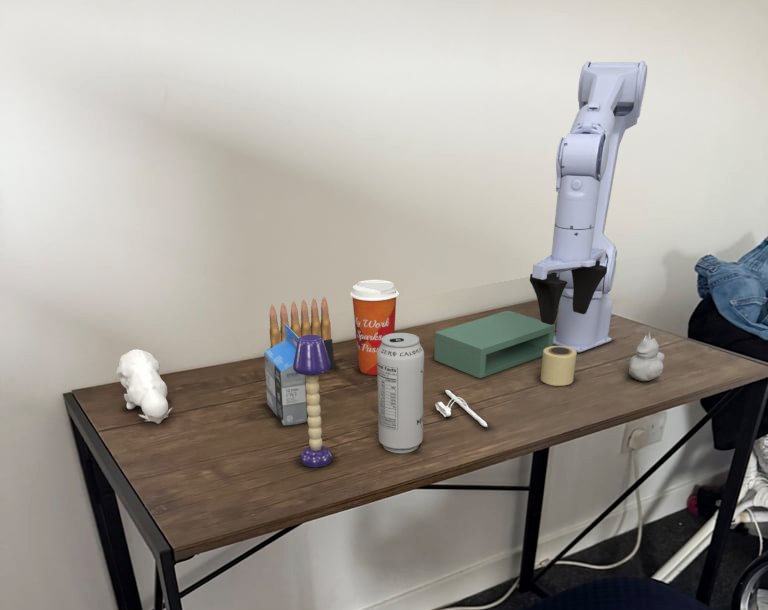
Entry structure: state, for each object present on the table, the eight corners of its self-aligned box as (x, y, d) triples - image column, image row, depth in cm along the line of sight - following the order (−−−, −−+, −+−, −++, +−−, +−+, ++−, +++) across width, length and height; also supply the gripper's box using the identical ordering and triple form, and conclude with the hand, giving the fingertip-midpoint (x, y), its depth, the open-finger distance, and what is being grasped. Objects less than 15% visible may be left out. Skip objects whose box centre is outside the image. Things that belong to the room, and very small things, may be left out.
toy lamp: (300, 451, 102) (290, 332, 93) (335, 450, 102) (328, 330, 94) (300, 469, 98) (290, 345, 89) (336, 467, 98) (329, 343, 89)
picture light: (489, 428, 107) (490, 414, 106) (461, 433, 106) (462, 419, 105) (447, 392, 118) (448, 379, 117) (422, 396, 117) (422, 383, 116)
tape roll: (554, 371, 125) (557, 342, 123) (579, 380, 122) (583, 351, 119) (533, 379, 122) (536, 350, 120) (558, 388, 119) (562, 358, 116)
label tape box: (266, 404, 116) (258, 325, 109) (292, 399, 117) (285, 321, 110) (283, 427, 109) (275, 344, 102) (310, 422, 110) (304, 340, 103)
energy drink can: (428, 451, 102) (430, 344, 94) (386, 458, 100) (384, 349, 92) (414, 432, 107) (415, 329, 99) (373, 438, 105) (371, 334, 97)
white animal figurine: (153, 341, 114) (175, 374, 106) (161, 391, 119) (183, 427, 111) (110, 349, 112) (129, 383, 103) (120, 400, 117) (140, 436, 109)
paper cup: (345, 373, 125) (341, 289, 118) (364, 358, 131) (361, 276, 124) (389, 380, 123) (388, 294, 115) (406, 363, 129) (406, 281, 121)
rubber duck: (617, 377, 123) (625, 329, 118) (646, 369, 125) (654, 322, 121) (643, 388, 119) (652, 339, 114) (672, 379, 121) (681, 331, 117)
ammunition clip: (330, 364, 129) (327, 294, 123) (335, 368, 128) (331, 297, 121) (271, 375, 125) (264, 304, 119) (275, 379, 124) (268, 307, 117)
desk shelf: (505, 336, 140) (507, 310, 137) (552, 352, 132) (555, 324, 130) (434, 360, 130) (434, 332, 128) (479, 378, 123) (481, 349, 120)
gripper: (563, 237, 103) (553, 334, 110) (628, 222, 111) (614, 313, 118) (524, 229, 108) (517, 322, 115) (588, 215, 115) (577, 303, 122)
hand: (563, 317), depth 117 cm, fingers open, 7 cm apart
